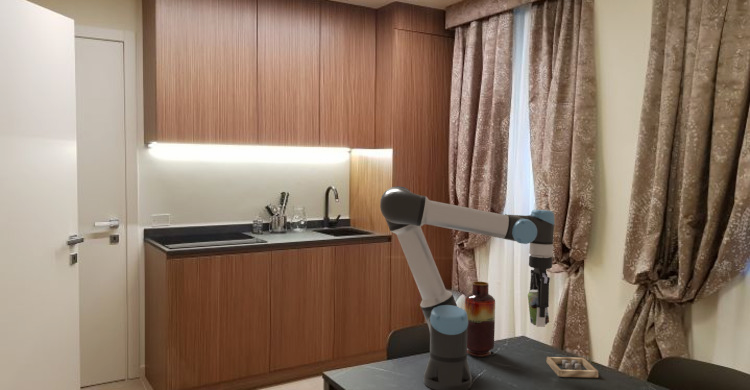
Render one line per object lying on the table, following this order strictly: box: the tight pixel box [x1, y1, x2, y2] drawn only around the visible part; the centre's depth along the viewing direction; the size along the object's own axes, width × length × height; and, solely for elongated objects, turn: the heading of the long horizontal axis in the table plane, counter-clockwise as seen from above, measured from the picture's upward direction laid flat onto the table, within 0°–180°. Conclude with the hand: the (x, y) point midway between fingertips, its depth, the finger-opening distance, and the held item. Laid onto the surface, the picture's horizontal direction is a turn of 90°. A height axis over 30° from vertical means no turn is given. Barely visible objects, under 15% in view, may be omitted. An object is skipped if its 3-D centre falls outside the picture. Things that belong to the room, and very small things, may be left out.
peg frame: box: [546, 356, 599, 378], centre depth 183 cm, size 13×13×2 cm
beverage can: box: [527, 289, 550, 327], centre depth 181 cm, size 6×7×12 cm
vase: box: [464, 281, 496, 358], centre depth 198 cm, size 11×11×26 cm
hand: (537, 323), depth 181 cm, fingers closed on beverage can, 6 cm apart
